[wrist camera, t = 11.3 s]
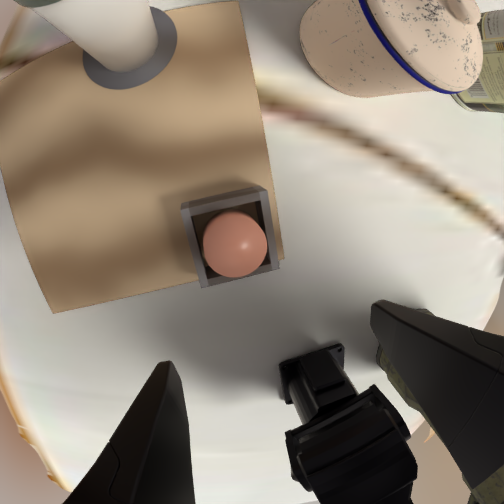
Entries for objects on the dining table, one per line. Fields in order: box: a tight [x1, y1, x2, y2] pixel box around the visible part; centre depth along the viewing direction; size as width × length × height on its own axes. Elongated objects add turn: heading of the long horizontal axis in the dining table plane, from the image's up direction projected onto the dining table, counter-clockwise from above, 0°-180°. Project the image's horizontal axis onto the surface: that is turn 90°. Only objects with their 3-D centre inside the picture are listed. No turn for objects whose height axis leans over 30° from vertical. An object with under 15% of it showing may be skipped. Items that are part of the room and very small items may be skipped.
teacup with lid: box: [300, 0, 483, 98], centre depth 10 cm, size 12×9×12 cm
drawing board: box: [0, 1, 284, 314], centre depth 15 cm, size 20×19×2 cm
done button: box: [203, 209, 267, 277], centre depth 17 cm, size 4×4×2 cm
